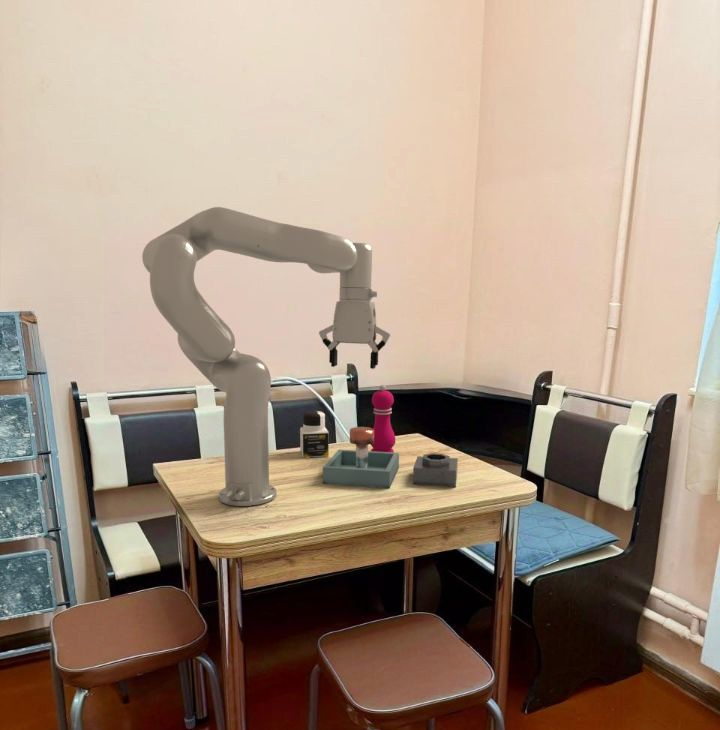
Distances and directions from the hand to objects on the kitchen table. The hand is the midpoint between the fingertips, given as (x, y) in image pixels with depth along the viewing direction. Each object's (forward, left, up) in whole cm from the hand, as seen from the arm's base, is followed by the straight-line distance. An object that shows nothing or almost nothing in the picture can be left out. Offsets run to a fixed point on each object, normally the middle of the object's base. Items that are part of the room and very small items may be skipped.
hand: (353, 367), depth 140 cm
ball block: (+2, -20, -27) cm, 34 cm away
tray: (+1, -2, -27) cm, 27 cm away
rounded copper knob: (+1, -2, -27) cm, 27 cm away
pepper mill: (+19, -4, -27) cm, 33 cm away
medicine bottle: (+17, +15, -27) cm, 35 cm away
